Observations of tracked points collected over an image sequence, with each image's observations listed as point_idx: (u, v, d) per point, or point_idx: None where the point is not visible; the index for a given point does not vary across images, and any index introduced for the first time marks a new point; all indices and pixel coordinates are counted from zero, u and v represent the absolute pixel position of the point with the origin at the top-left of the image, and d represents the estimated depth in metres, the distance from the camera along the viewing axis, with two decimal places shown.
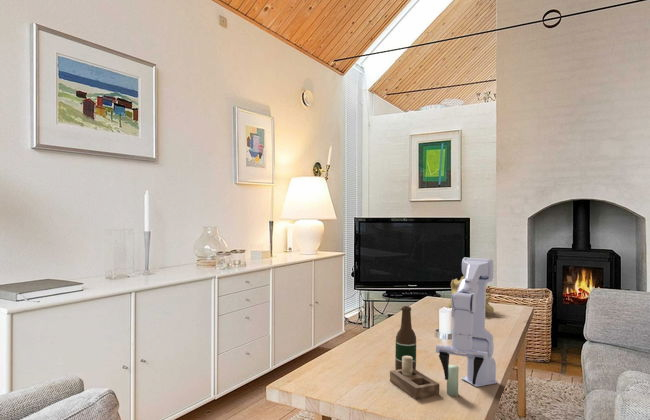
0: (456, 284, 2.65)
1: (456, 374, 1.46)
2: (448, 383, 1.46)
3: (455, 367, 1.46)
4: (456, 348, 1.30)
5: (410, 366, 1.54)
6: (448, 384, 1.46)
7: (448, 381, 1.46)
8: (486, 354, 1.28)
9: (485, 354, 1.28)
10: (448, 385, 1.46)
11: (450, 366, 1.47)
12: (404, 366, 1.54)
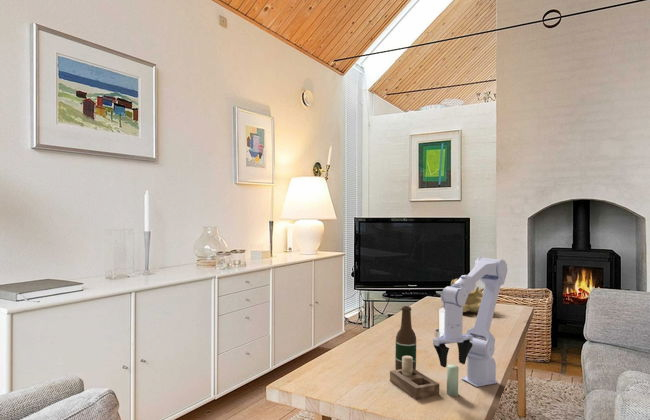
0: None
1: (456, 374, 1.45)
2: (448, 383, 1.46)
3: (455, 368, 1.46)
4: (455, 338, 1.44)
5: (410, 366, 1.54)
6: (448, 384, 1.46)
7: (448, 381, 1.46)
8: (472, 336, 1.49)
9: (471, 336, 1.49)
10: (448, 385, 1.46)
11: (450, 366, 1.47)
12: (404, 366, 1.54)
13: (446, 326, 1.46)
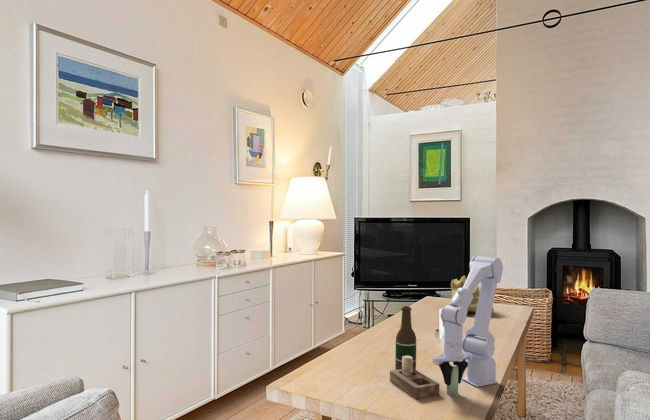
0: (456, 284, 2.65)
1: (456, 374, 1.45)
2: None
3: (455, 367, 1.46)
4: (455, 357, 1.44)
5: (410, 366, 1.54)
6: None
7: None
8: (471, 355, 1.49)
9: (471, 355, 1.49)
10: None
11: None
12: (404, 366, 1.54)
13: (446, 345, 1.46)
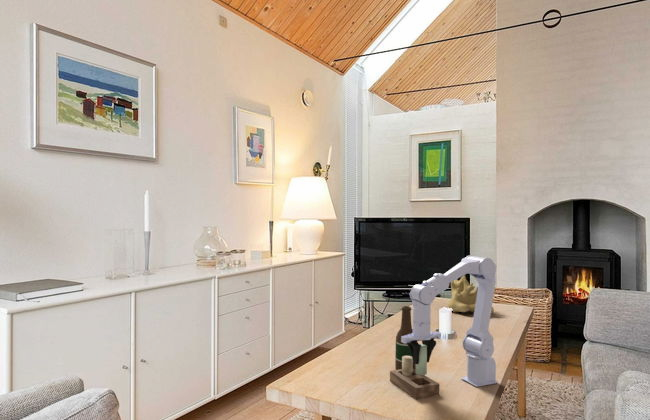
0: (456, 284, 2.65)
1: (425, 353, 1.46)
2: None
3: (424, 347, 1.47)
4: (423, 336, 1.45)
5: (410, 366, 1.54)
6: None
7: None
8: (440, 334, 1.50)
9: (439, 334, 1.50)
10: (417, 364, 1.47)
11: None
12: (404, 366, 1.54)
13: (414, 324, 1.47)
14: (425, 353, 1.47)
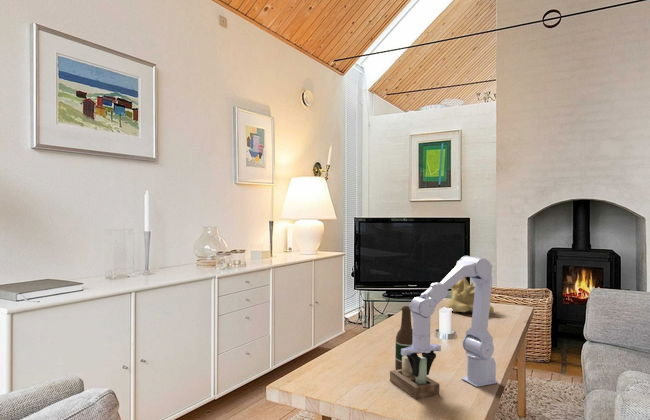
0: (456, 284, 2.65)
1: (424, 366, 1.46)
2: None
3: (424, 359, 1.47)
4: (422, 348, 1.45)
5: (410, 366, 1.54)
6: None
7: None
8: (440, 346, 1.50)
9: (439, 346, 1.50)
10: (416, 377, 1.47)
11: None
12: (404, 366, 1.54)
13: (414, 336, 1.47)
14: (425, 366, 1.47)
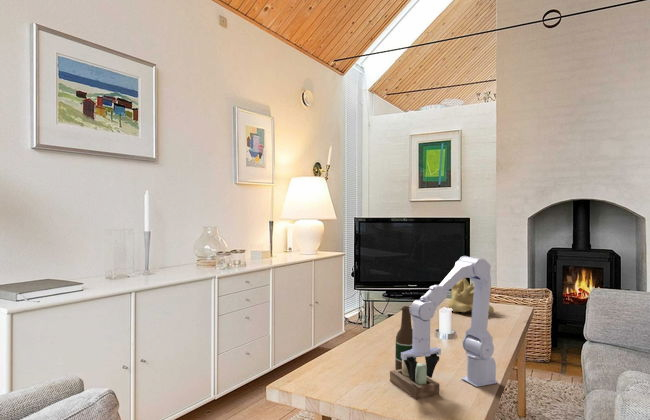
0: (456, 284, 2.65)
1: (424, 373, 1.46)
2: (416, 382, 1.47)
3: (424, 366, 1.47)
4: (422, 352, 1.45)
5: None
6: (416, 383, 1.47)
7: (416, 380, 1.47)
8: (440, 350, 1.50)
9: (439, 350, 1.50)
10: None
11: (418, 365, 1.48)
12: (404, 366, 1.54)
13: (414, 340, 1.47)
14: (425, 372, 1.47)
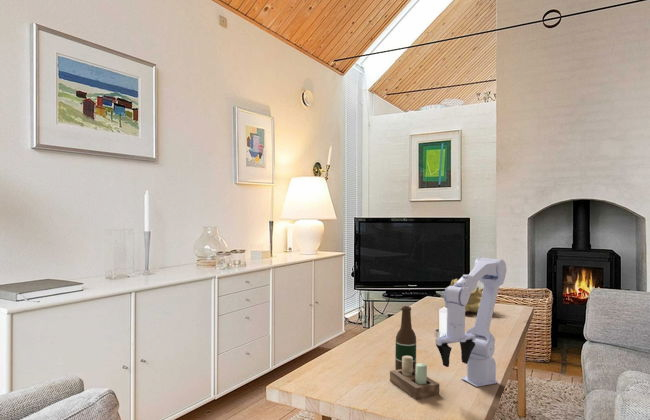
0: None
1: (424, 373, 1.46)
2: (416, 382, 1.47)
3: (424, 366, 1.47)
4: (458, 338, 1.44)
5: (410, 366, 1.54)
6: (416, 383, 1.47)
7: (416, 380, 1.47)
8: (474, 336, 1.48)
9: (474, 336, 1.48)
10: None
11: (418, 365, 1.48)
12: (404, 366, 1.54)
13: (448, 326, 1.45)
14: (425, 373, 1.47)
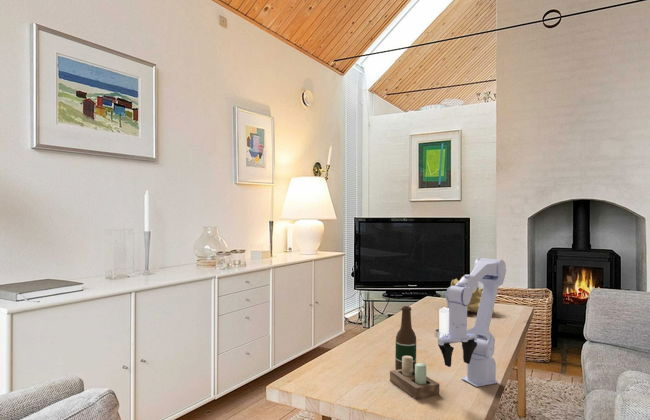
0: None
1: (424, 372, 1.47)
2: (416, 382, 1.47)
3: (423, 366, 1.47)
4: (460, 337, 1.44)
5: (410, 366, 1.54)
6: (416, 383, 1.47)
7: (416, 380, 1.47)
8: (476, 336, 1.48)
9: (475, 336, 1.48)
10: None
11: (418, 365, 1.48)
12: (404, 366, 1.54)
13: (451, 325, 1.45)
14: (424, 372, 1.47)
